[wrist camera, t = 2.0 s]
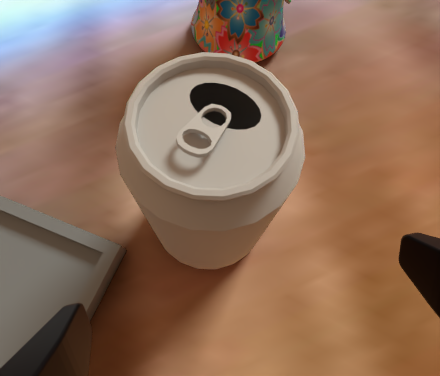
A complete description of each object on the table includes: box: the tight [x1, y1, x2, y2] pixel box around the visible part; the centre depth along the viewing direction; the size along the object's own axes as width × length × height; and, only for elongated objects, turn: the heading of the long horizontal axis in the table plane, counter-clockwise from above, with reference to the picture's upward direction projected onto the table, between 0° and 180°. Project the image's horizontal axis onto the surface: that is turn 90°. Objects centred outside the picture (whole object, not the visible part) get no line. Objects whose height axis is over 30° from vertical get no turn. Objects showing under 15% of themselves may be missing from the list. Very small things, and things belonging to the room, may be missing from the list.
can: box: [115, 52, 305, 269], centre depth 16 cm, size 8×8×12 cm
